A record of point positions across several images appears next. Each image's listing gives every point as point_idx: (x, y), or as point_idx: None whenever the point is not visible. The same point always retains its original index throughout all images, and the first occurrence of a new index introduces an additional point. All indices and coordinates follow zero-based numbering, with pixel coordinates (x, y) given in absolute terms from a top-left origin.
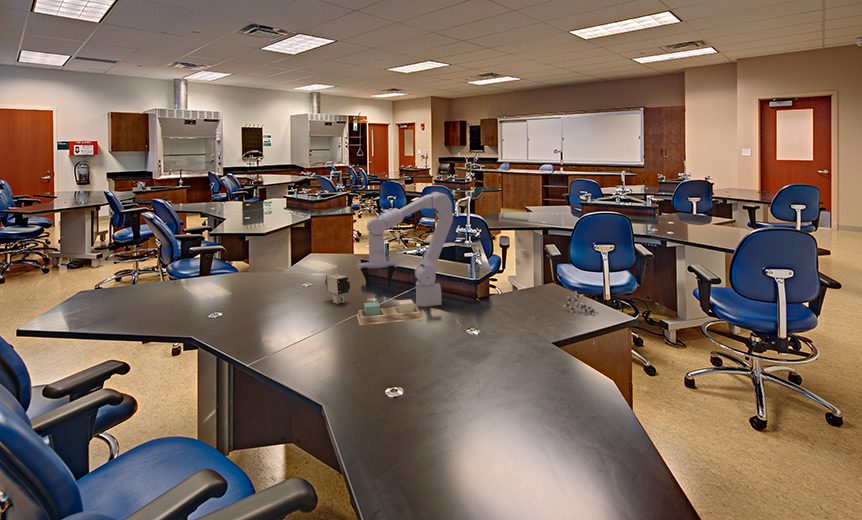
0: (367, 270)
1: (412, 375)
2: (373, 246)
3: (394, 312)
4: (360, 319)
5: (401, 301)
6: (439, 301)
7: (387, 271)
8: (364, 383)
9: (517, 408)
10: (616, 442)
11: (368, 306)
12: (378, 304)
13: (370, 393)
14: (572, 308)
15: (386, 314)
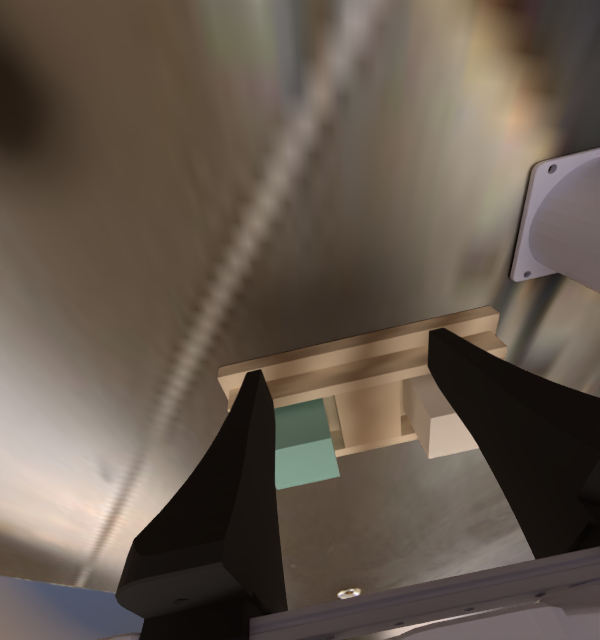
0: (270, 612)
1: (378, 573)
2: None
3: (390, 426)
4: None
5: (446, 429)
6: None
7: (531, 466)
8: (309, 590)
9: None
10: (516, 604)
11: (290, 484)
12: (333, 464)
13: (319, 598)
14: None
15: (357, 444)
